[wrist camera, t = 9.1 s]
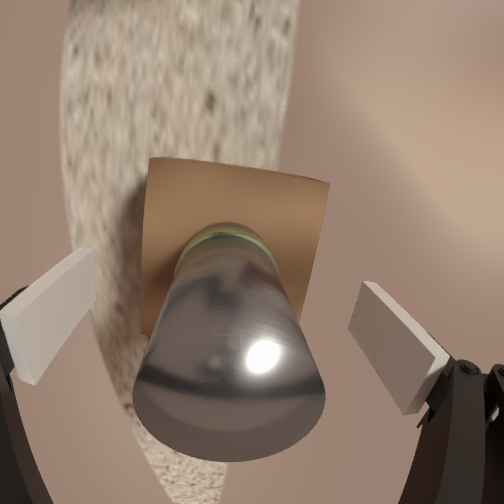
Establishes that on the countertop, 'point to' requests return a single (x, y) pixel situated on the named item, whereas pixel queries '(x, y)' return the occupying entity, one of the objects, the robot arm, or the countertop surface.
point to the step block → (227, 210)
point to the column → (228, 355)
